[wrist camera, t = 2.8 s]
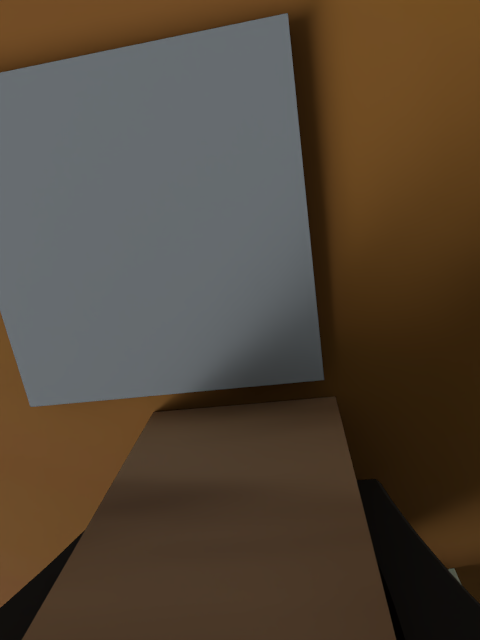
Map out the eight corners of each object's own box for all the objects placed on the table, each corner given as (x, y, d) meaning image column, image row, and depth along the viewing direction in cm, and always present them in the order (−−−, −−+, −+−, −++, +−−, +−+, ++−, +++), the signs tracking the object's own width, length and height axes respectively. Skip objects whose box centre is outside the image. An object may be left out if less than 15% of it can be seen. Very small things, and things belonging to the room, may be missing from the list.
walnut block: (349, 548, 11) (416, 910, 6) (185, 555, 12) (97, 887, 6) (335, 396, 10) (403, 665, 4) (153, 412, 11) (7, 665, 5)
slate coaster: (321, 369, 10) (324, 380, 9) (43, 395, 11) (30, 406, 10) (287, 26, 8) (287, 13, 7) (-48, 93, 9) (-71, 87, 8)
